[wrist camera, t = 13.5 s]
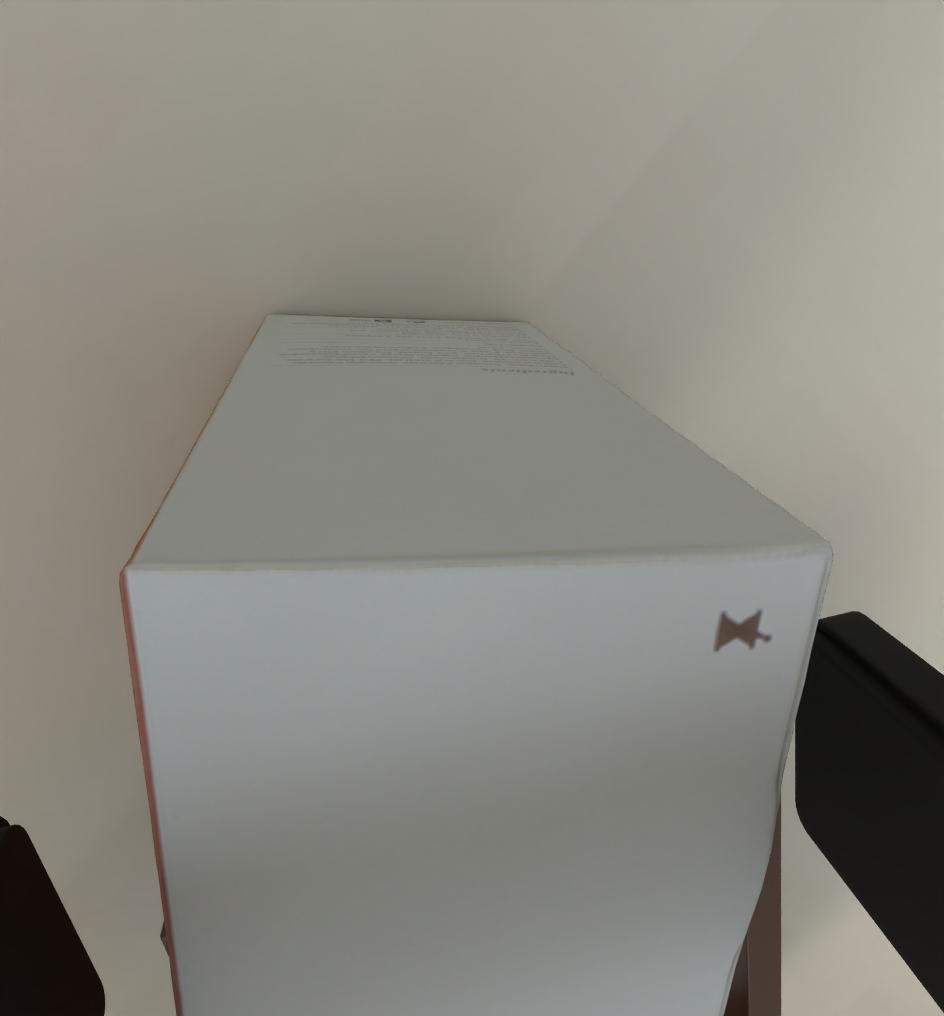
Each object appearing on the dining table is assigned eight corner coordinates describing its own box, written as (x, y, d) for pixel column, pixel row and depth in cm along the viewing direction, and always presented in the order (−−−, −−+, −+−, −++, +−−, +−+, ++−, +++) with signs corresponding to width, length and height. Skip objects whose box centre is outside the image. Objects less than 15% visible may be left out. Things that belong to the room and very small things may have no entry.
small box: (261, 310, 18) (100, 551, 6) (532, 317, 19) (866, 536, 7) (276, 621, 21) (191, 1201, 9) (510, 613, 22) (715, 1123, 10)
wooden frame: (324, 1120, 29) (321, 1297, 24) (195, 784, 22) (158, 937, 18) (714, 1014, 30) (782, 1164, 25) (696, 668, 24) (782, 783, 19)
